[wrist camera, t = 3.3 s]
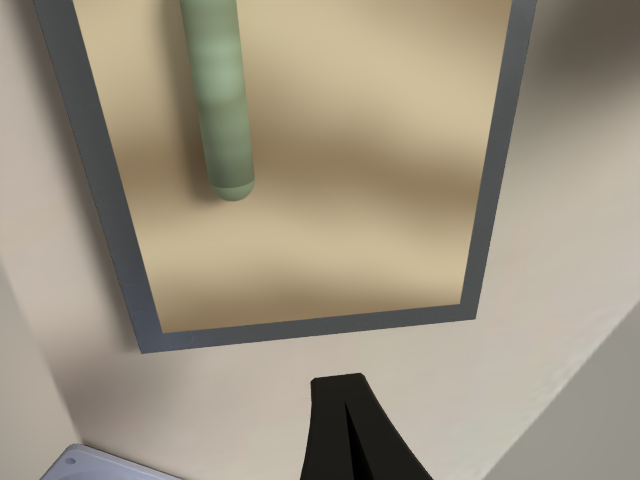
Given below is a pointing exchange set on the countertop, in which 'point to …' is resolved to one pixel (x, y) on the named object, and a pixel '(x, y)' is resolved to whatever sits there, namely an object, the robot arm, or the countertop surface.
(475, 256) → the base
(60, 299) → the countertop surface
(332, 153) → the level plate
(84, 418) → the countertop surface
